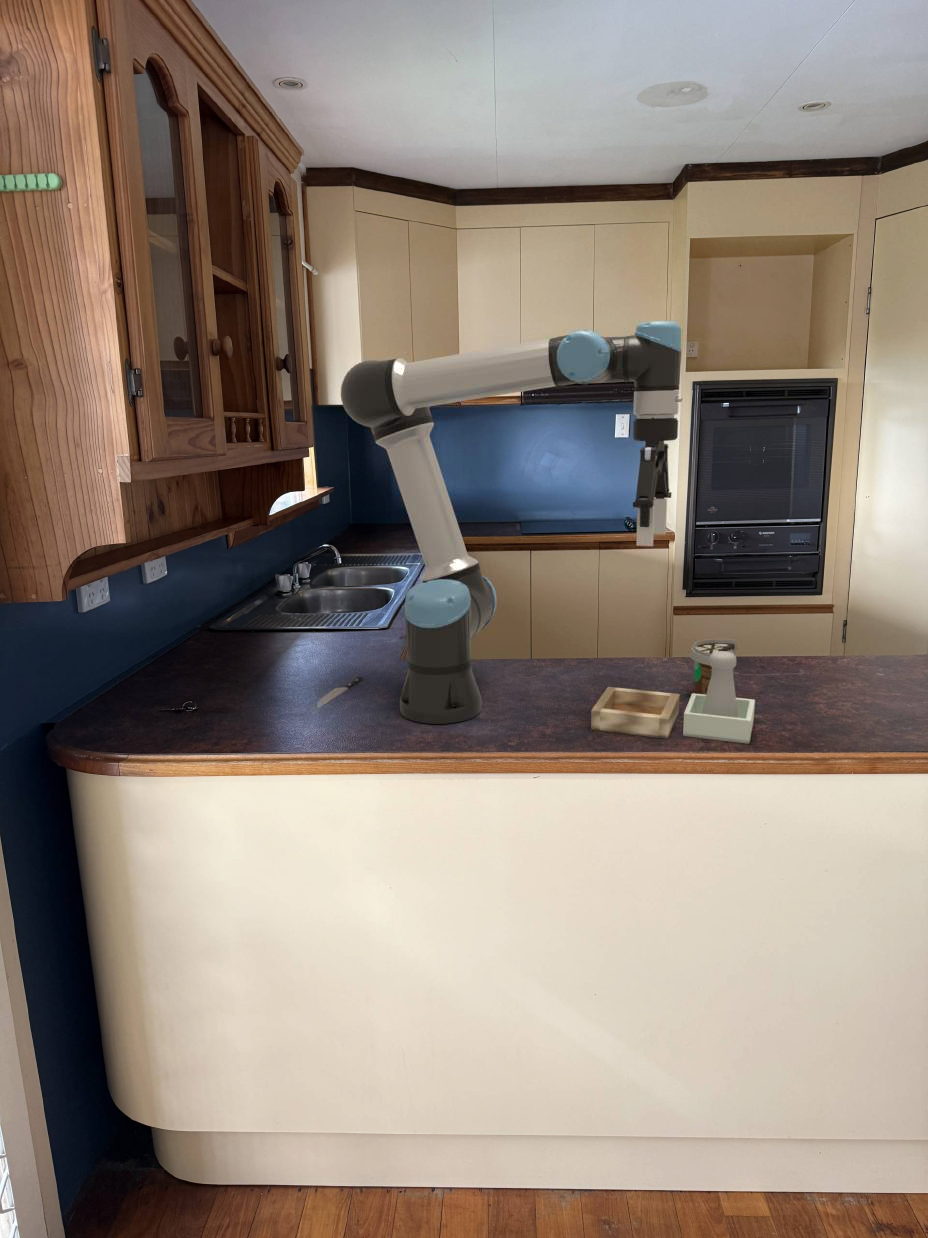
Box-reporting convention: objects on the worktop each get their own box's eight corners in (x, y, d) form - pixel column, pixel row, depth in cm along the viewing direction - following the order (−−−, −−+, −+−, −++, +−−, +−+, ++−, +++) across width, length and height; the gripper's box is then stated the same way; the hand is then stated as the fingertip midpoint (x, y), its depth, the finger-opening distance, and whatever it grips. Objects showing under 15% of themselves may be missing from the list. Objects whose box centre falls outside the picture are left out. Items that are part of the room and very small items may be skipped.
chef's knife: (302, 711, 158) (315, 712, 156) (301, 705, 157) (315, 706, 156) (352, 679, 175) (364, 680, 173) (351, 674, 174) (364, 675, 173)
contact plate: (603, 723, 145) (603, 721, 145) (615, 705, 153) (615, 703, 153) (658, 730, 141) (658, 727, 141) (667, 711, 150) (667, 709, 149)
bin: (682, 735, 140) (684, 713, 139) (691, 714, 150) (692, 693, 149) (749, 743, 136) (750, 720, 135) (753, 721, 146) (754, 699, 145)
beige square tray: (591, 729, 144) (591, 710, 143) (607, 704, 155) (608, 686, 155) (667, 739, 139) (668, 719, 138) (678, 712, 151) (679, 694, 150)
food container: (704, 682, 166) (706, 634, 164) (734, 688, 162) (737, 639, 160) (676, 700, 157) (679, 649, 155) (708, 706, 153) (710, 654, 151)
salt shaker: (707, 717, 147) (711, 646, 144) (740, 722, 144) (745, 650, 141) (697, 728, 142) (701, 655, 139) (731, 734, 139) (736, 659, 136)
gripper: (666, 418, 131) (661, 552, 136) (687, 415, 153) (682, 530, 158) (618, 418, 134) (615, 550, 139) (646, 415, 156) (643, 528, 161)
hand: (651, 539), depth 149 cm, fingers open, 13 cm apart
